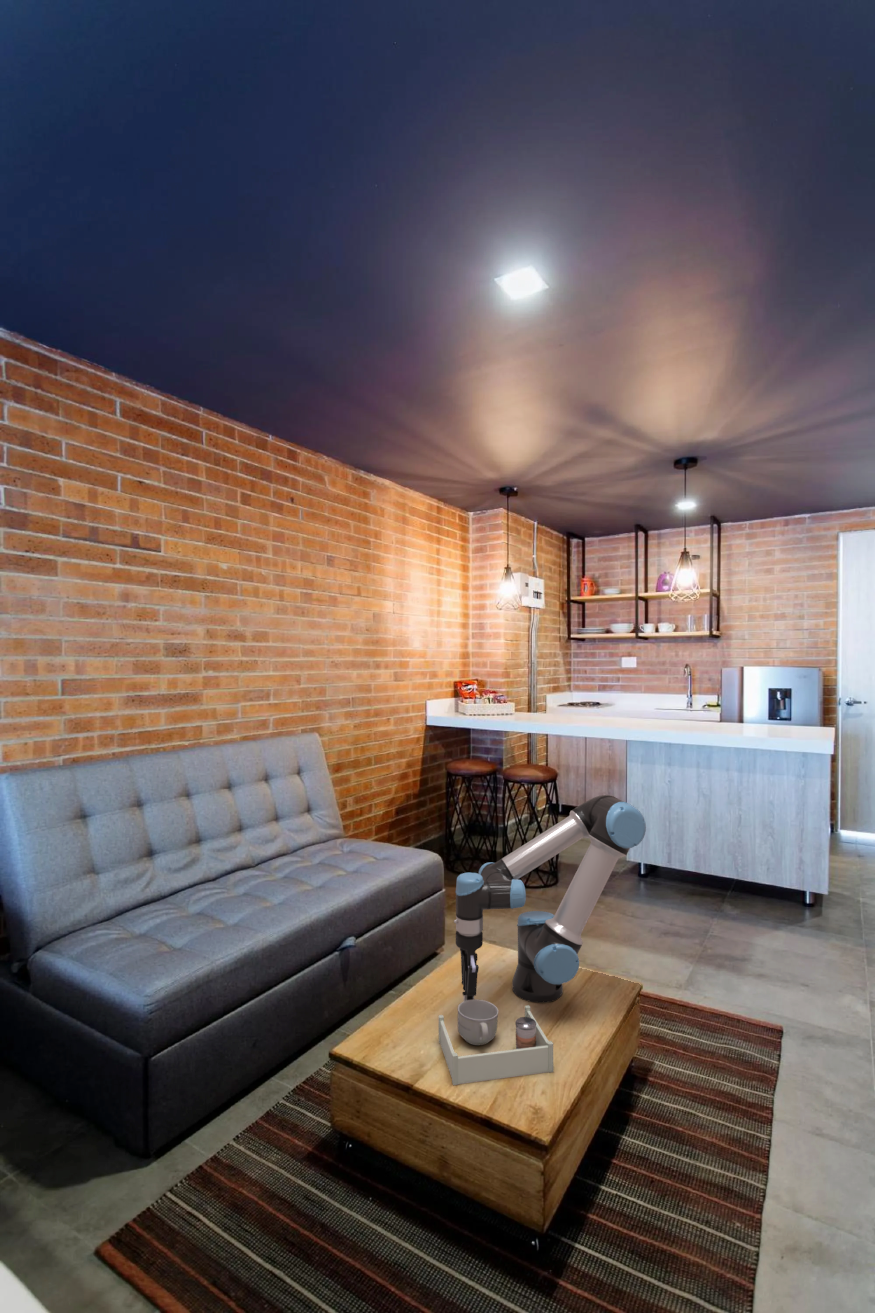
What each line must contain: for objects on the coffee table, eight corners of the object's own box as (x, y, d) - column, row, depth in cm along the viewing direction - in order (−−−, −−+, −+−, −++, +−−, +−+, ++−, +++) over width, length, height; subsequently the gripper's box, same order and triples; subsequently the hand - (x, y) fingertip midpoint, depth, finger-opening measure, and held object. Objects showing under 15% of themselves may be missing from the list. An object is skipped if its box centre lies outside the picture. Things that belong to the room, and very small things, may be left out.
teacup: (457, 1027, 176) (457, 997, 176) (497, 1027, 175) (496, 997, 175) (458, 1058, 162) (457, 1026, 162) (501, 1058, 161) (500, 1026, 161)
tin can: (532, 1047, 166) (532, 1016, 166) (539, 1059, 161) (538, 1027, 161) (513, 1050, 165) (512, 1018, 165) (519, 1062, 160) (519, 1029, 160)
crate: (529, 1030, 174) (528, 1005, 174) (553, 1072, 156) (553, 1044, 156) (438, 1041, 169) (438, 1015, 169) (453, 1085, 151) (452, 1056, 151)
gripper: (451, 922, 184) (451, 1004, 184) (460, 942, 171) (460, 1030, 171) (477, 921, 185) (476, 1002, 185) (487, 940, 173) (487, 1028, 173)
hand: (468, 1016), depth 178 cm, fingers closed
